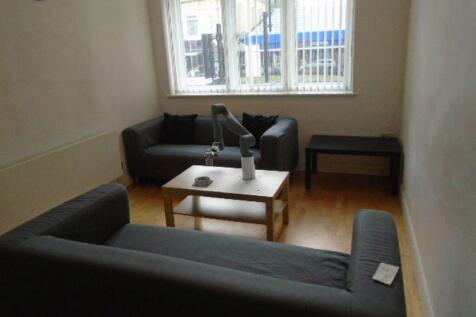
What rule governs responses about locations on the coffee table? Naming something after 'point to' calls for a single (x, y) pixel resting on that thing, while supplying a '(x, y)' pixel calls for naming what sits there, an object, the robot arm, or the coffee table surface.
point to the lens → (208, 157)
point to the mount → (202, 181)
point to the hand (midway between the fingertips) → (208, 157)
